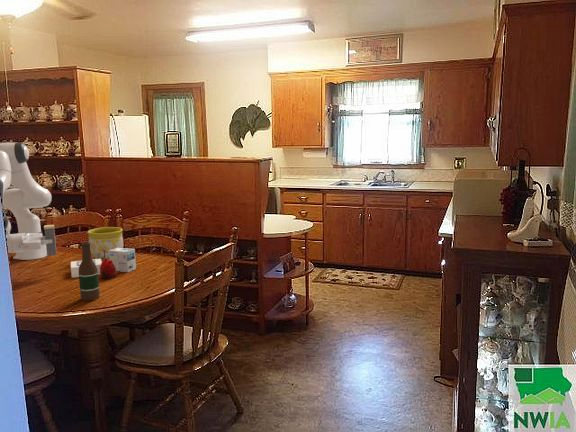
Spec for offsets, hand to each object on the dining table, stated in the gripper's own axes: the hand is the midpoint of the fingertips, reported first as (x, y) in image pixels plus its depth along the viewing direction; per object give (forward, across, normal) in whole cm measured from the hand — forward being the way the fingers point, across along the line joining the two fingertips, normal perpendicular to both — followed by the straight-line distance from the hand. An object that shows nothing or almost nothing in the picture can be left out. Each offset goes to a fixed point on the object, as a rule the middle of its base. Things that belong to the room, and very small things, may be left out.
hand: (52, 239), depth 227 cm
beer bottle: (+14, -43, +18) cm, 48 cm away
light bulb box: (+31, -5, +18) cm, 36 cm away
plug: (-1, 0, +7) cm, 7 cm away
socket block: (+14, -2, +18) cm, 23 cm away
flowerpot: (+25, +21, +19) cm, 38 cm away
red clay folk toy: (+23, -15, +18) cm, 33 cm away
